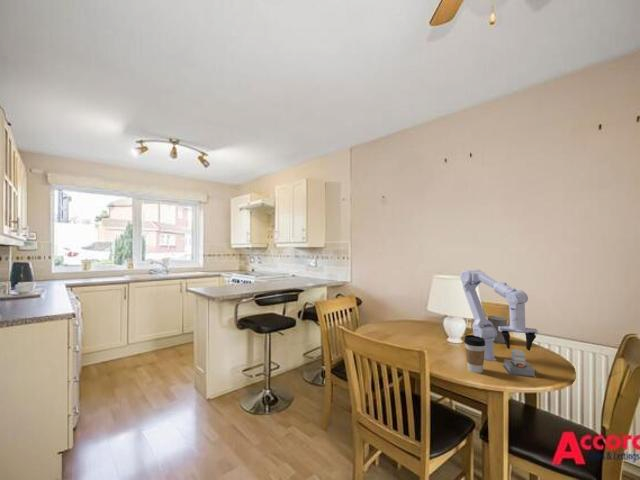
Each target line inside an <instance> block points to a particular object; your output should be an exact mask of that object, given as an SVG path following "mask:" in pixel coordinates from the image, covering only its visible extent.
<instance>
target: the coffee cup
mask: <svg viewBox="0 0 640 480" xmlns="http://www.w3.org/2000/svg"><path fill="white" fill-rule="evenodd" d="M463 343H464V344H465V347H464V349H465V357H466V364H467V371H468V372H470V373H476V374H481V373H484V364H485V363H484V362H485V360H484V351H485V349H484V346H485V340H484V339H483V338H481V337H478V336H474V334H473V335H471V334H466V335H464V340H463Z"/></svg>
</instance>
